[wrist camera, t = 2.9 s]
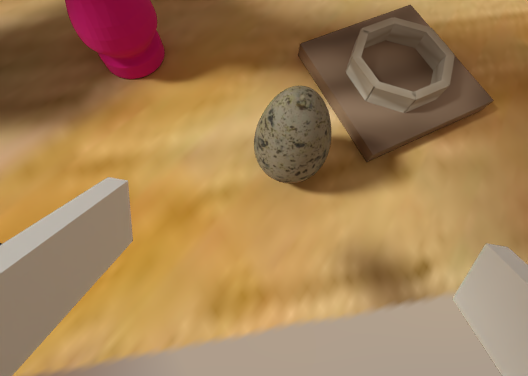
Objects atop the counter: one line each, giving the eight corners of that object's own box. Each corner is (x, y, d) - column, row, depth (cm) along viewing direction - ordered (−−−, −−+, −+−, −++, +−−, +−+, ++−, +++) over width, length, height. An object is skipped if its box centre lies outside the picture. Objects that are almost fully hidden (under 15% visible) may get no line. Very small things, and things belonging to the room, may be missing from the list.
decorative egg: (328, 154, 26) (368, 81, 17) (299, 206, 25) (325, 157, 15) (274, 125, 27) (283, 41, 18) (242, 173, 26) (233, 109, 16)
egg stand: (298, 55, 30) (303, 26, 27) (403, 16, 32) (420, -14, 29) (366, 161, 26) (382, 144, 23) (481, 109, 28) (511, 86, 25)
